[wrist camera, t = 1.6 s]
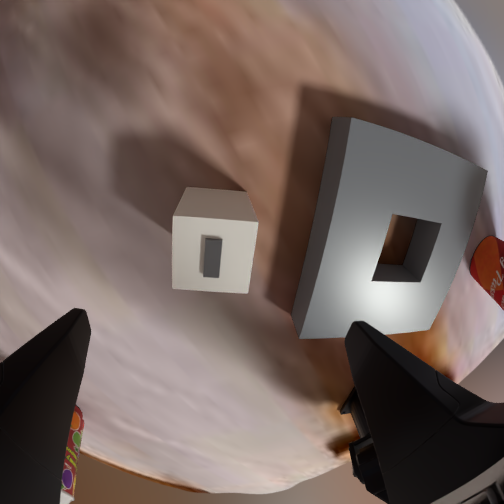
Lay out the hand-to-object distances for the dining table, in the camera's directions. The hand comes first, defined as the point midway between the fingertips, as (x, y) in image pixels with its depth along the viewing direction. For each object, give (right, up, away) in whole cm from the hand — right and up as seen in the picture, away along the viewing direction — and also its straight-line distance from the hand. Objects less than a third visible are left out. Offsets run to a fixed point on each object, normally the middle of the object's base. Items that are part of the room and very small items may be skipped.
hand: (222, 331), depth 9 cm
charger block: (-2, +5, +11) cm, 12 cm away
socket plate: (+12, +4, +13) cm, 18 cm away
